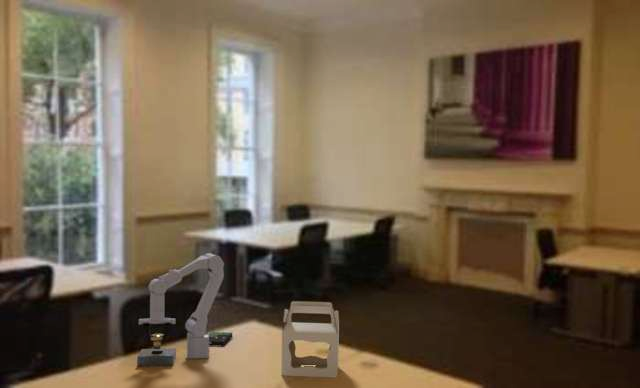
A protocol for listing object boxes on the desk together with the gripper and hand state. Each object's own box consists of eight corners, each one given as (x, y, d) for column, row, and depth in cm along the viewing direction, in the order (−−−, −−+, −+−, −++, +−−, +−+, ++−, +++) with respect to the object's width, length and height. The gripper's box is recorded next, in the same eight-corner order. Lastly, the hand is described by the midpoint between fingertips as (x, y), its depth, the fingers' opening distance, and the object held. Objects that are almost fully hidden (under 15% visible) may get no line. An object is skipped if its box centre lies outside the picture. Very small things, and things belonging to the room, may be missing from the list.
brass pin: (165, 346, 247) (165, 333, 247) (163, 350, 242) (163, 337, 242) (151, 346, 247) (151, 333, 246) (149, 350, 241) (149, 337, 241)
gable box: (280, 375, 231) (281, 304, 230) (284, 364, 244) (285, 297, 243) (337, 378, 229) (338, 306, 228) (338, 366, 243) (340, 299, 241)
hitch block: (175, 357, 250) (175, 348, 250) (172, 365, 240) (172, 355, 240) (141, 358, 249) (141, 349, 248) (137, 366, 239) (137, 356, 239)
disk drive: (224, 347, 268) (232, 338, 283) (224, 341, 268) (232, 332, 283) (202, 346, 269) (211, 337, 284) (202, 340, 269) (211, 331, 284)
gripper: (137, 311, 239) (137, 344, 239) (174, 310, 241) (173, 343, 241) (140, 307, 246) (140, 339, 246) (176, 306, 248) (176, 338, 248)
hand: (157, 341), depth 244 cm, fingers closed on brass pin, 5 cm apart
